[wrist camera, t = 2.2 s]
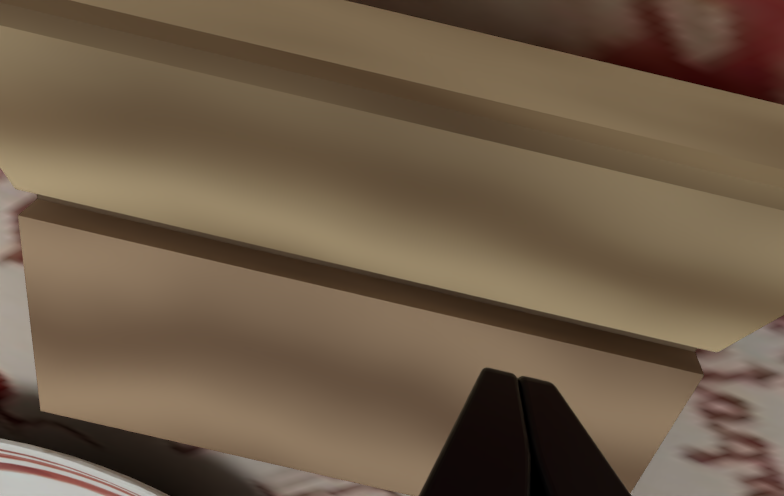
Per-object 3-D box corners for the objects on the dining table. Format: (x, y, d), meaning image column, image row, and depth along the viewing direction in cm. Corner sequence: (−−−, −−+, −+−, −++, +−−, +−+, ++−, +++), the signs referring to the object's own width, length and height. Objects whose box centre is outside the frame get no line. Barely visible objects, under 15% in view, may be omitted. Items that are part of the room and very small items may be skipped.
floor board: (595, 502, 25) (601, 538, 24) (62, 380, 25) (40, 410, 24) (704, 316, 20) (719, 349, 19) (44, 161, 20) (14, 184, 19)
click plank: (716, 303, 20) (717, 365, 19) (38, 145, 19) (9, 201, 19) (947, 144, 13) (967, 232, 12) (-113, -110, 12) (-173, -38, 12)
